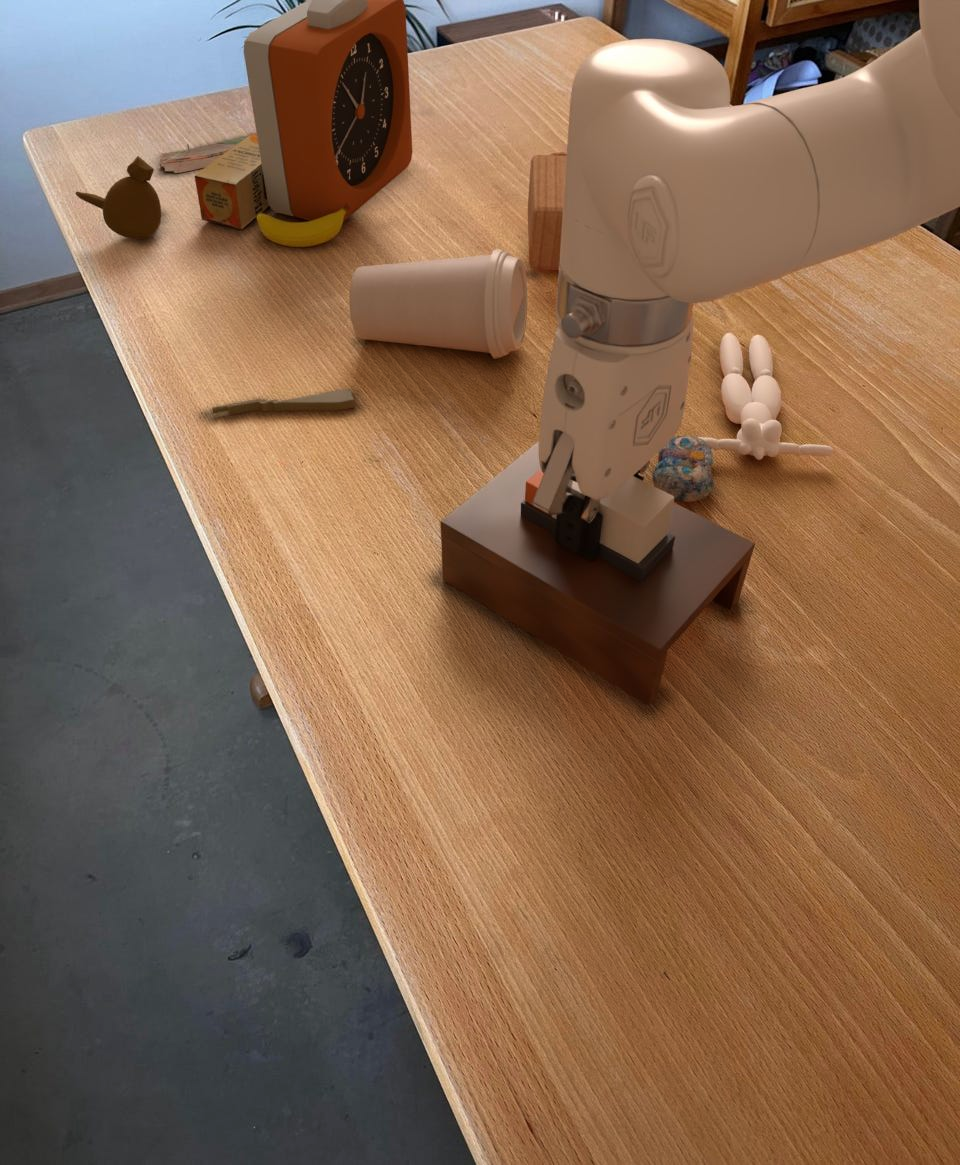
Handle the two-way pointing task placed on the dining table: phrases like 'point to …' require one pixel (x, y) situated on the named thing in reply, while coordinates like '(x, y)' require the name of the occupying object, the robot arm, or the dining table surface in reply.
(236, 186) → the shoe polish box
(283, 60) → the alarm clock
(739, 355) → the decorative figure
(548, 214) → the decorative item
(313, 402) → the olive tapered flat bar
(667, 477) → the decorative stone
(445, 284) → the coffee cup
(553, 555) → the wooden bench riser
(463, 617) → the dining table surface
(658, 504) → the tricolour layered block
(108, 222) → the figurine
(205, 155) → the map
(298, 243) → the fruit
